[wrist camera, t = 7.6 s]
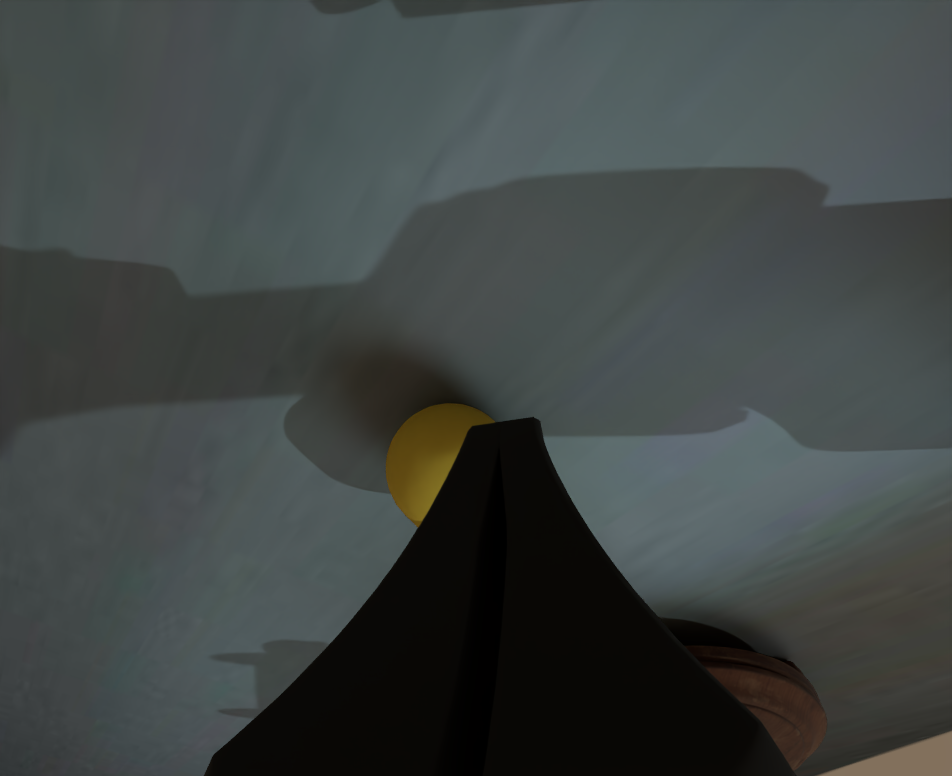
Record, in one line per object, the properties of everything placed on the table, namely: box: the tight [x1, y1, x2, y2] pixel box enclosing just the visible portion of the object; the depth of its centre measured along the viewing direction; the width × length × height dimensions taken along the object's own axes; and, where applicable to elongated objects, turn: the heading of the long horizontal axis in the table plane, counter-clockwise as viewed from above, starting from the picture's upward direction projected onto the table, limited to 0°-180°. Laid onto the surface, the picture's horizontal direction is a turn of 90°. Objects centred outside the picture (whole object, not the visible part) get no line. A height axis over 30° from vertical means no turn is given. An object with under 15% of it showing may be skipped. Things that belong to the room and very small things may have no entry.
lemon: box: [386, 403, 496, 527], centre depth 21 cm, size 6×5×5 cm
